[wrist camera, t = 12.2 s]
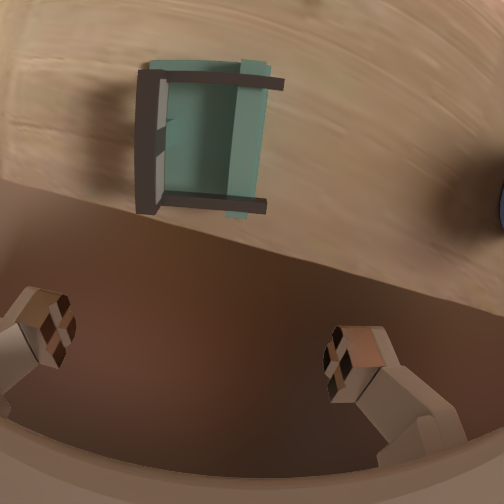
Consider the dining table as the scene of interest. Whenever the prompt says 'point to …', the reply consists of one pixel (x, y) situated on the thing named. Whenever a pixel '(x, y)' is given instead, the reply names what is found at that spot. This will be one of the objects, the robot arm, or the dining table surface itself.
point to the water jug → (502, 208)
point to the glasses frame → (154, 141)
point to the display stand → (214, 130)
